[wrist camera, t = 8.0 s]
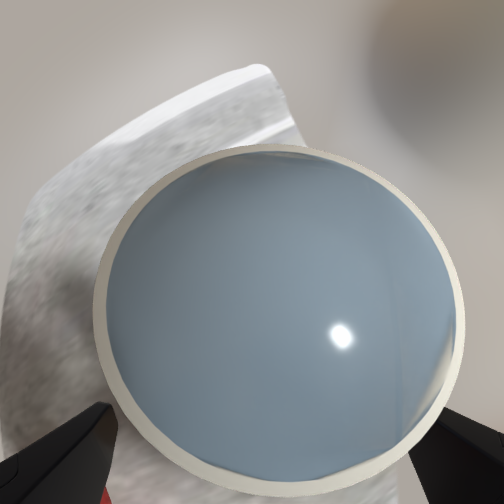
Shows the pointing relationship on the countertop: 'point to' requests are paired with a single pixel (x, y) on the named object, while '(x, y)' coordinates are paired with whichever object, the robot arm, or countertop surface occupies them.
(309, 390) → the tumbler
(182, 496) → the countertop surface
